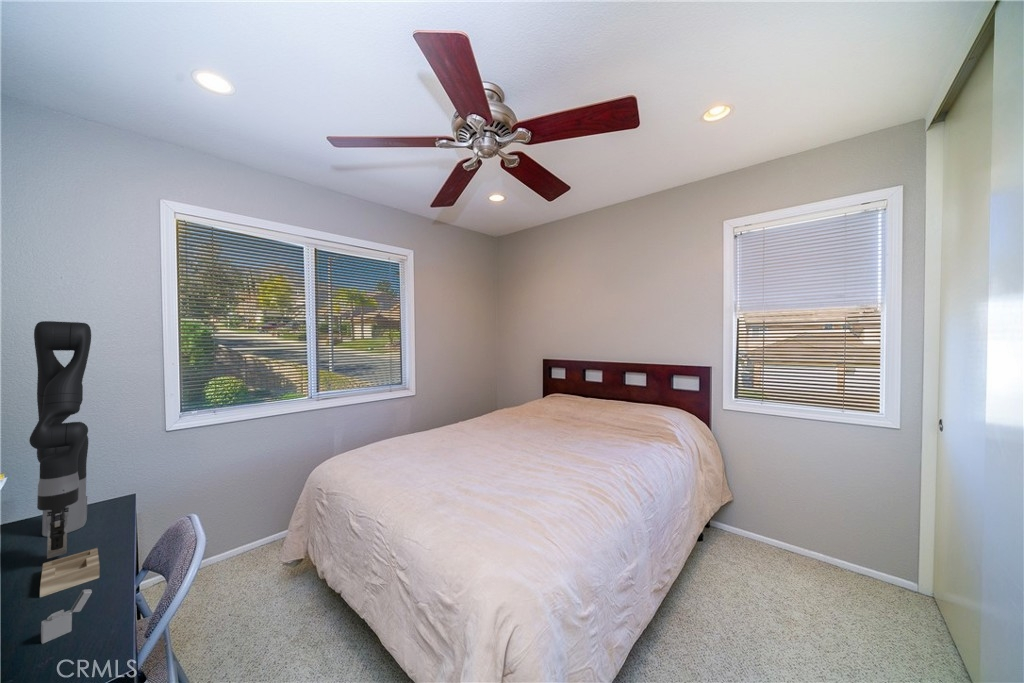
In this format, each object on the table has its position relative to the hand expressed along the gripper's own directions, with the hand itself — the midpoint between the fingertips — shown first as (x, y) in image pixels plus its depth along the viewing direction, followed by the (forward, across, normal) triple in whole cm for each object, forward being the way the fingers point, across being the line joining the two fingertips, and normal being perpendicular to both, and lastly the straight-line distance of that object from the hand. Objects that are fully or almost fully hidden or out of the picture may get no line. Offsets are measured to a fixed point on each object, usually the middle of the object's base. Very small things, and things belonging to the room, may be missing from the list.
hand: (57, 545), depth 104 cm
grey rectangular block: (+2, 0, 0) cm, 2 cm away
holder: (+5, -13, -3) cm, 14 cm away
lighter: (+4, -41, -2) cm, 41 cm away
